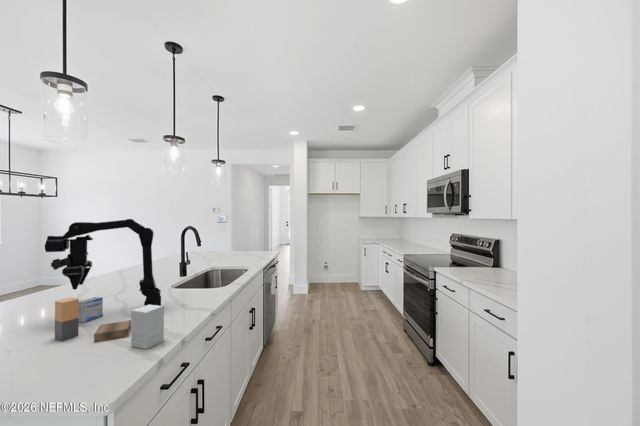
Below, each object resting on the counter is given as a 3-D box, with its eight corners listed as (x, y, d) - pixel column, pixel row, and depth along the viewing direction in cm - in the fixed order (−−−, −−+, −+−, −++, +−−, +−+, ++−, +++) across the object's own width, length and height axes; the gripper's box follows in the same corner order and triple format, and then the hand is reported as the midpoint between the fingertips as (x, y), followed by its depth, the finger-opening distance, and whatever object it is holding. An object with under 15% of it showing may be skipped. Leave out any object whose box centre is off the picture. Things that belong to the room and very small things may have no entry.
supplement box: (164, 340, 102) (164, 305, 102) (145, 349, 95) (146, 312, 95) (149, 337, 104) (149, 303, 104) (130, 346, 97) (130, 310, 97)
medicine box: (85, 322, 119) (85, 302, 119) (76, 322, 120) (76, 301, 120) (103, 316, 127) (103, 297, 127) (95, 315, 127) (95, 296, 128)
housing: (71, 333, 107) (71, 297, 108) (78, 336, 105) (78, 299, 105) (54, 339, 103) (55, 301, 103) (61, 341, 101) (62, 302, 101)
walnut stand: (131, 327, 114) (131, 320, 114) (127, 336, 105) (127, 328, 105) (100, 332, 109) (100, 324, 109) (94, 342, 100) (94, 334, 100)
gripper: (61, 249, 126) (60, 284, 125) (45, 254, 109) (44, 294, 109) (92, 248, 131) (92, 281, 131) (81, 253, 115) (81, 291, 114)
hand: (77, 286), depth 121 cm, fingers open, 9 cm apart
